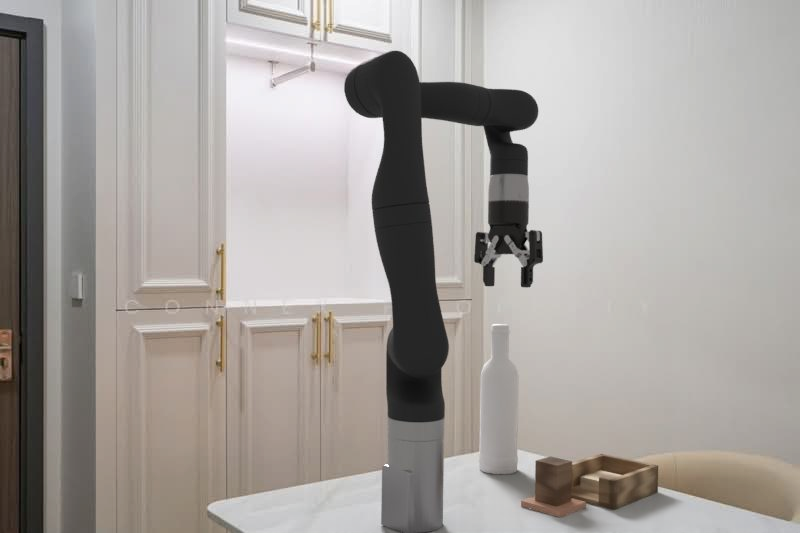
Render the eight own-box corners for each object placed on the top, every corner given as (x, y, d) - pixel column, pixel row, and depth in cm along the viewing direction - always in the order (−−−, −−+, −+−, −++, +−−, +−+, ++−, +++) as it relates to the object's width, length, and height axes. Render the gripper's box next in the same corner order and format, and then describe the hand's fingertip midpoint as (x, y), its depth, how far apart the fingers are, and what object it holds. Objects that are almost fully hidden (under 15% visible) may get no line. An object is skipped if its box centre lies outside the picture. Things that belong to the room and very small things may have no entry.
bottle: (476, 473, 154) (479, 325, 155) (480, 463, 162) (482, 322, 162) (516, 476, 153) (519, 326, 153) (518, 466, 161) (520, 323, 161)
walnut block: (571, 501, 133) (572, 461, 133) (556, 506, 130) (557, 465, 130) (549, 495, 136) (550, 456, 136) (534, 500, 133) (535, 460, 133)
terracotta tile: (559, 517, 127) (560, 511, 127) (520, 506, 133) (521, 500, 133) (585, 507, 133) (585, 501, 133) (547, 497, 139) (547, 491, 139)
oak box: (613, 509, 132) (614, 481, 132) (555, 494, 141) (555, 467, 141) (657, 492, 143) (658, 465, 143) (601, 478, 152) (601, 453, 152)
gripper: (552, 199, 140) (550, 287, 140) (491, 203, 151) (489, 285, 151) (527, 196, 135) (526, 288, 135) (466, 200, 145) (465, 286, 145)
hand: (507, 286), depth 143 cm, fingers open, 8 cm apart
